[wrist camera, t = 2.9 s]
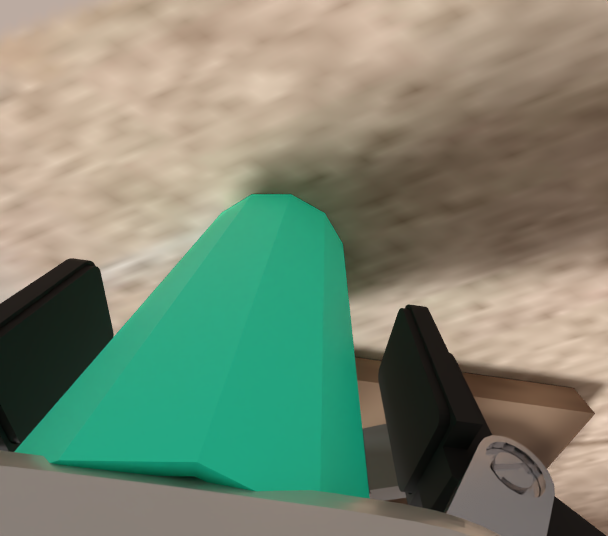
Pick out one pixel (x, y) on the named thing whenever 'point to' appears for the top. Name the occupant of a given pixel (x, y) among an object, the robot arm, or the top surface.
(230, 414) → the candle
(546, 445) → the candle stand
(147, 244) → the top surface
